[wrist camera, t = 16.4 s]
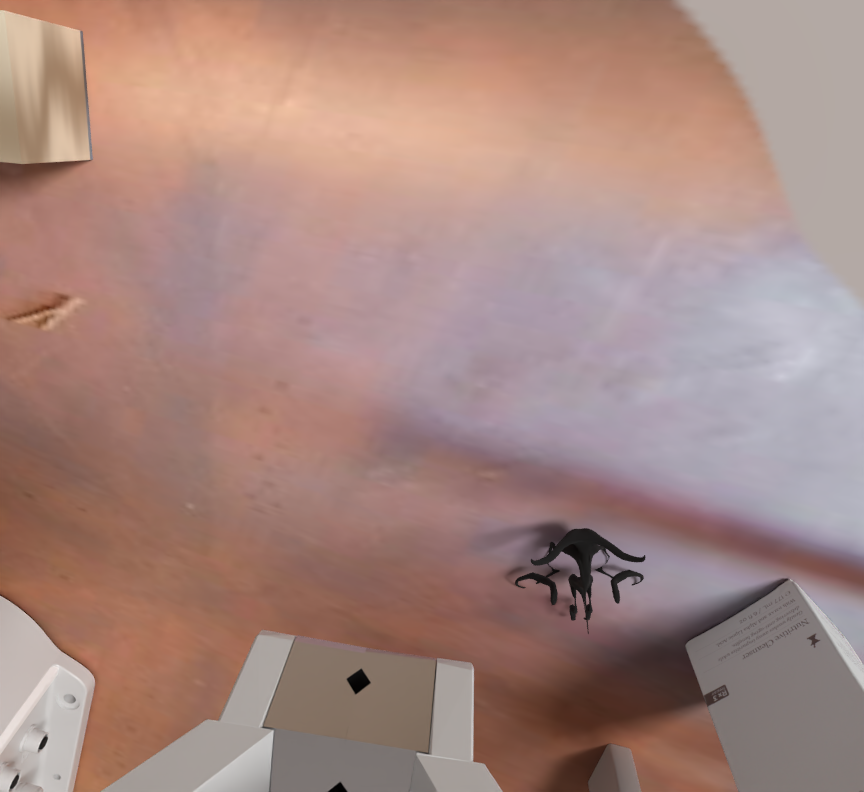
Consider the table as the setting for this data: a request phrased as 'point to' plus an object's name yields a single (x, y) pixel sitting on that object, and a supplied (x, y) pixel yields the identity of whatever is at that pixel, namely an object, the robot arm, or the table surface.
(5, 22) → the maple cube
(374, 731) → the robot arm
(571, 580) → the creature
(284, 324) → the table surface
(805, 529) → the table surface
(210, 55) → the table surface
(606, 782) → the lighter
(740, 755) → the skincare box
